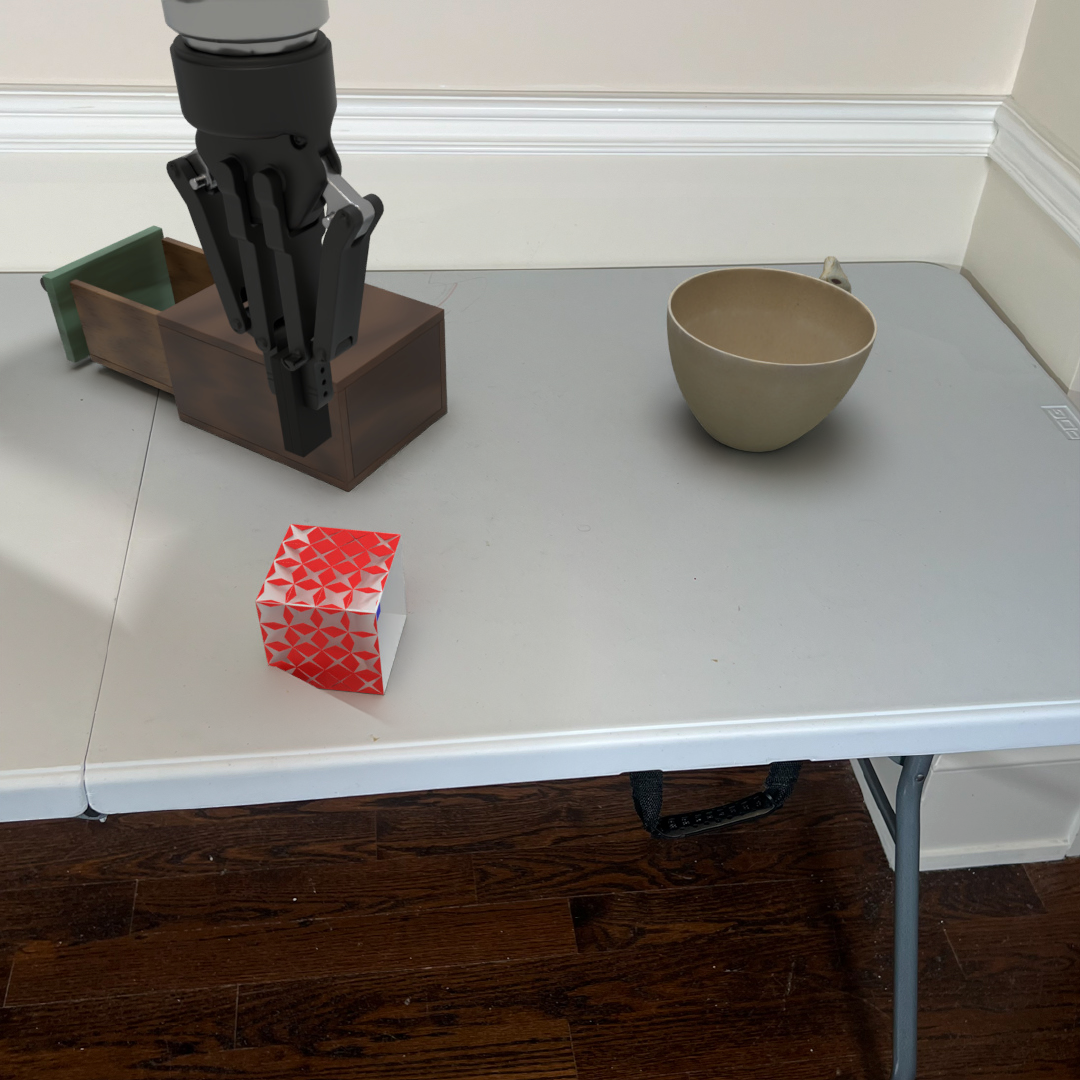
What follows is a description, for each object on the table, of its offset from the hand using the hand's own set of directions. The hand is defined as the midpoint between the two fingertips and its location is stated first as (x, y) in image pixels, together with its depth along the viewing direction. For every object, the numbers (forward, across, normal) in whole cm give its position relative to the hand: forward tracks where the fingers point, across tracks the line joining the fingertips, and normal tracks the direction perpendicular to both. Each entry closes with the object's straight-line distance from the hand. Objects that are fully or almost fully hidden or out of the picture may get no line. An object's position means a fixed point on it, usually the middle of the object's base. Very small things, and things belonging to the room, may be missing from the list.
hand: (308, 442), depth 64 cm
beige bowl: (+17, +15, +42) cm, 48 cm away
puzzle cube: (+17, +1, -1) cm, 17 cm away
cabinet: (+17, -20, +21) cm, 34 cm away
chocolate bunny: (+17, +15, +61) cm, 66 cm away
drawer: (+16, -38, +22) cm, 47 cm away
